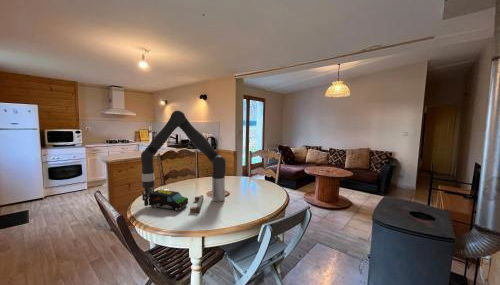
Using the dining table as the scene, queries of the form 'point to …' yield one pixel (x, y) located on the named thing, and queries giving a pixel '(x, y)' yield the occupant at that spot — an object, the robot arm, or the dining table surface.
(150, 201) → the toy van
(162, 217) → the dining table surface
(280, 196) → the dining table surface
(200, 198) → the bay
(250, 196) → the dining table surface
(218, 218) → the dining table surface
